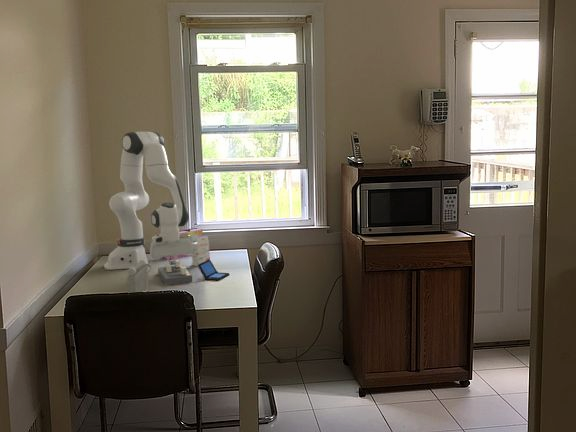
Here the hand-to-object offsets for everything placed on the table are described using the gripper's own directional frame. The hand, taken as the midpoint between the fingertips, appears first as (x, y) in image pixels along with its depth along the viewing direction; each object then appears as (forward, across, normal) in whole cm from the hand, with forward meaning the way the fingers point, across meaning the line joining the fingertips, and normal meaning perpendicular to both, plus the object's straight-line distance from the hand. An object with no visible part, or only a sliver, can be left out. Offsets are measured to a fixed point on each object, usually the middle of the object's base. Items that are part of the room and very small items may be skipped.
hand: (172, 264), depth 289 cm
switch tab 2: (+1, -2, 0) cm, 3 cm away
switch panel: (+5, 0, +8) cm, 9 cm away
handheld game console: (+5, -17, +16) cm, 24 cm away
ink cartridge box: (+5, -17, -14) cm, 23 cm away
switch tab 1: (+1, +3, +8) cm, 9 cm away
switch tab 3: (+1, -3, +16) cm, 16 cm away
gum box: (+5, -13, -41) cm, 44 cm away
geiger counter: (+5, +20, +34) cm, 40 cm away
